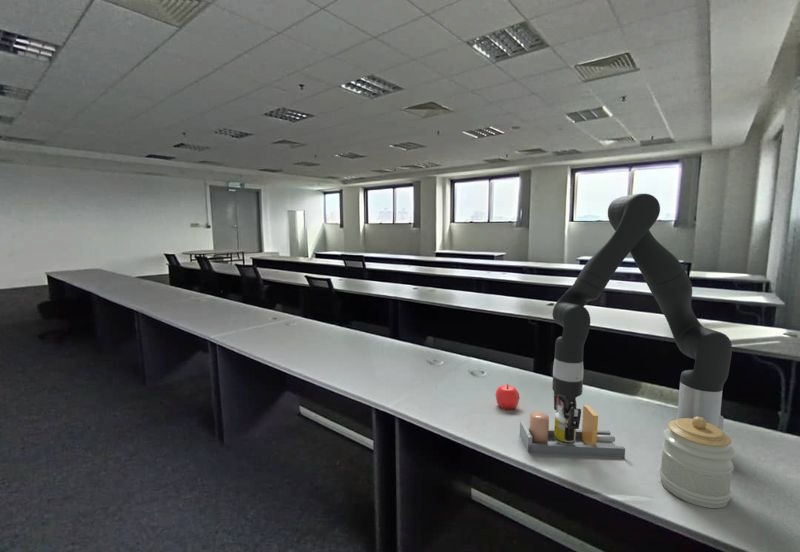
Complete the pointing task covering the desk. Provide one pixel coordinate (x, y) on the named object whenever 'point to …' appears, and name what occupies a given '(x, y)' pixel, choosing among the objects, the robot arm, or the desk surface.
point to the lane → (576, 448)
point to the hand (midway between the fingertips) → (564, 433)
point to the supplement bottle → (561, 428)
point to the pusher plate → (592, 428)
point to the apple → (507, 397)
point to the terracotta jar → (539, 427)
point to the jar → (697, 462)
